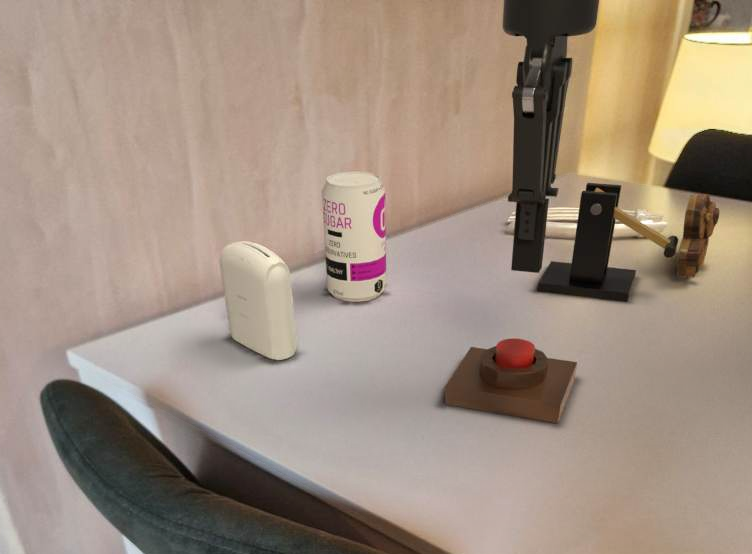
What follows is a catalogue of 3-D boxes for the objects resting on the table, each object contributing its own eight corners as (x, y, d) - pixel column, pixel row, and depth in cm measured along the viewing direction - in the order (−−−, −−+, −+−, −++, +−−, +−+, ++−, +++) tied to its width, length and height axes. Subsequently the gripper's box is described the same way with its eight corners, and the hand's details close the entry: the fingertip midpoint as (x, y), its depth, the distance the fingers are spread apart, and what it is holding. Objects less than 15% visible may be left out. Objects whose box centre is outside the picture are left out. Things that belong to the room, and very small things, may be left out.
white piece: (666, 242, 120) (506, 237, 124) (658, 223, 128) (507, 219, 131) (670, 225, 118) (508, 220, 122) (661, 206, 126) (509, 202, 130)
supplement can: (391, 283, 109) (390, 171, 100) (378, 305, 103) (377, 188, 93) (336, 279, 111) (331, 169, 101) (320, 301, 104) (313, 186, 95)
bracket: (634, 278, 108) (653, 183, 100) (627, 301, 102) (646, 202, 94) (550, 269, 112) (561, 176, 104) (537, 291, 105) (548, 194, 98)
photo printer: (225, 338, 95) (211, 239, 88) (254, 328, 98) (242, 230, 90) (273, 365, 89) (262, 260, 82) (302, 354, 91) (294, 251, 84)
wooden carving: (705, 290, 104) (724, 215, 98) (669, 287, 105) (686, 212, 99) (707, 251, 116) (724, 182, 110) (675, 248, 118) (690, 180, 111)
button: (536, 356, 81) (538, 341, 80) (528, 372, 79) (530, 357, 77) (500, 351, 83) (501, 336, 82) (490, 367, 80) (492, 351, 79)
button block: (574, 379, 85) (579, 346, 82) (557, 423, 77) (562, 388, 75) (469, 364, 88) (471, 331, 86) (444, 404, 81) (445, 370, 79)
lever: (671, 251, 103) (683, 235, 101) (668, 263, 99) (680, 247, 97) (588, 200, 103) (598, 184, 101) (582, 211, 99) (592, 194, 97)
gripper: (524, -29, 66) (504, 244, 80) (485, -19, 57) (471, 289, 71) (613, -32, 64) (576, 250, 78) (588, -21, 54) (552, 297, 69)
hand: (526, 268), depth 75 cm, fingers closed
